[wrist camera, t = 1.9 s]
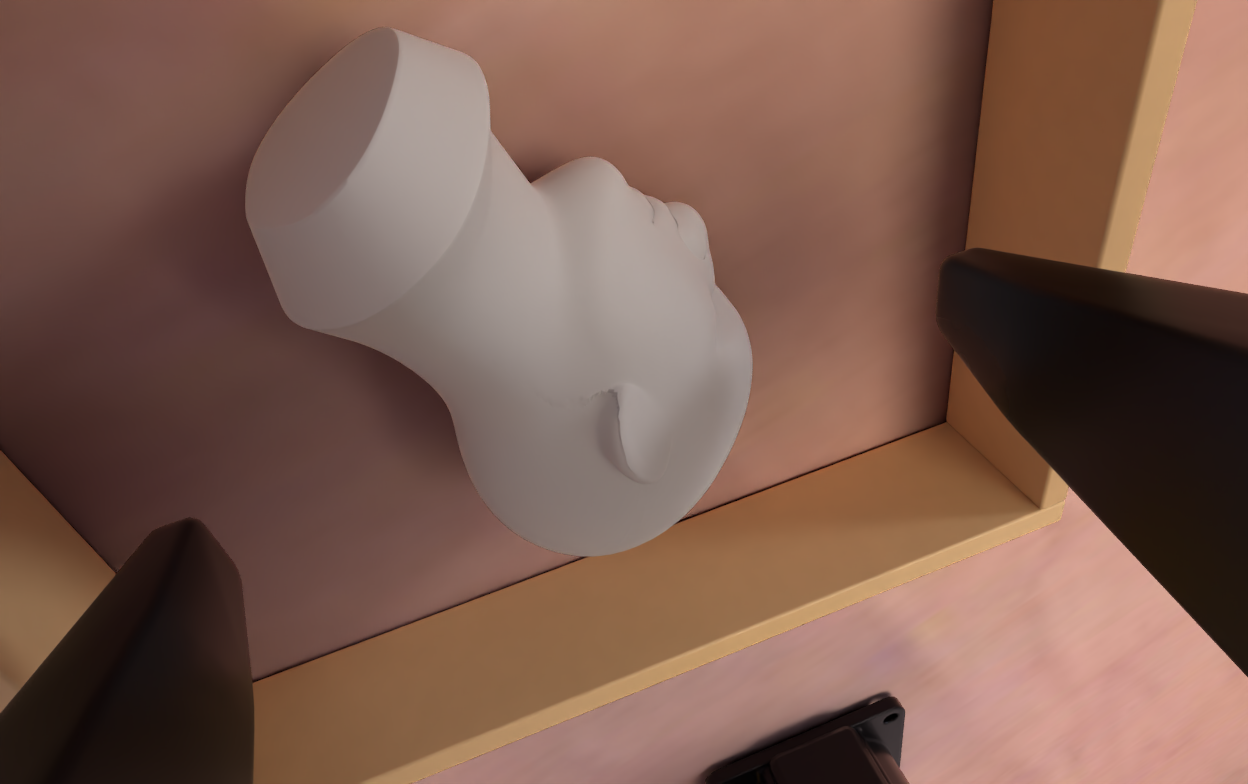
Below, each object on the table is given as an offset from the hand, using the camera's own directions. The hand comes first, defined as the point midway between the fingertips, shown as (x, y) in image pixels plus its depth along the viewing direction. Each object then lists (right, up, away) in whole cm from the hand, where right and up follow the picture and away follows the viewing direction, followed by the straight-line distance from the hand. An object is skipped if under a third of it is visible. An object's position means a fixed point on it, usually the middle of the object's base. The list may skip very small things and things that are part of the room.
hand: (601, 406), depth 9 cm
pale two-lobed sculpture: (-1, +2, +3) cm, 4 cm away
